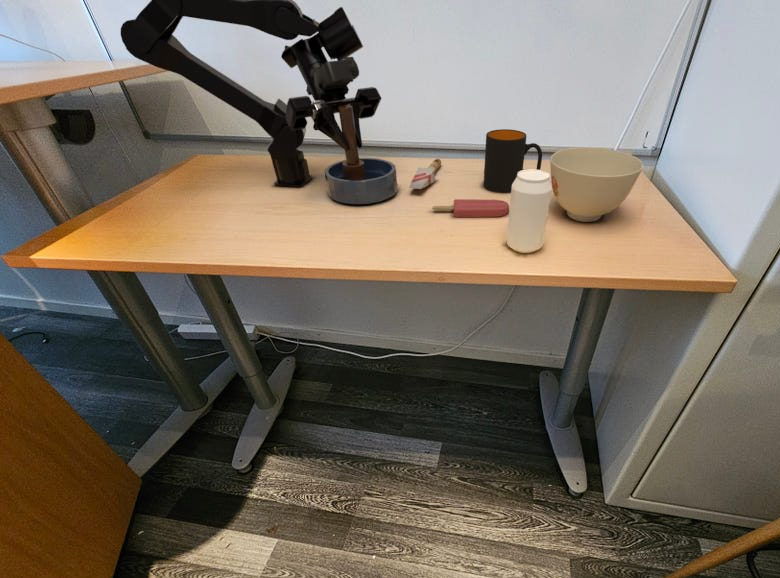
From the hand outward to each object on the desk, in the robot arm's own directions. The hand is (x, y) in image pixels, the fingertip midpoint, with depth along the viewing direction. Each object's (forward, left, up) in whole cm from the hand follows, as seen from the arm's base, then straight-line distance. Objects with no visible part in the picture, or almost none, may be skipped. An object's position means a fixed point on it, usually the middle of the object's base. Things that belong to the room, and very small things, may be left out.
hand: (354, 148), depth 82 cm
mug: (+31, +11, -10) cm, 34 cm away
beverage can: (+35, -17, -10) cm, 40 cm away
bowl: (+46, -2, -10) cm, 47 cm away
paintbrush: (+12, +12, -10) cm, 19 cm away
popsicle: (+24, -4, -10) cm, 26 cm away
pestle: (-1, +1, -7) cm, 7 cm away
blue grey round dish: (0, +2, -9) cm, 10 cm away
